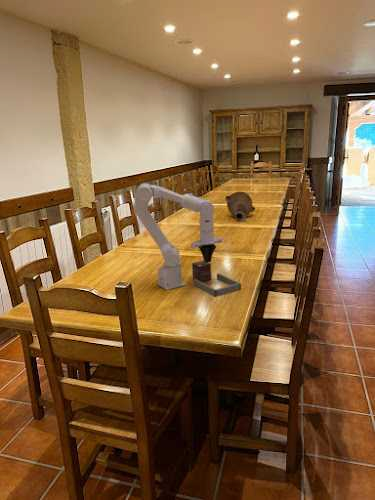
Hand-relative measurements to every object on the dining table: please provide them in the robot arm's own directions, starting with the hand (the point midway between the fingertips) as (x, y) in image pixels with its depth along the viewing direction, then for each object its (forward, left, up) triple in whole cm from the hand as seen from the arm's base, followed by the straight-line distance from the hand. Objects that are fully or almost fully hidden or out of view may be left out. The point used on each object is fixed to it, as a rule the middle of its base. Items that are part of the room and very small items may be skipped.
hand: (207, 261), depth 157 cm
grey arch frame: (0, -6, -9) cm, 11 cm away
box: (0, +5, -10) cm, 11 cm away
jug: (+95, +96, -10) cm, 136 cm away
